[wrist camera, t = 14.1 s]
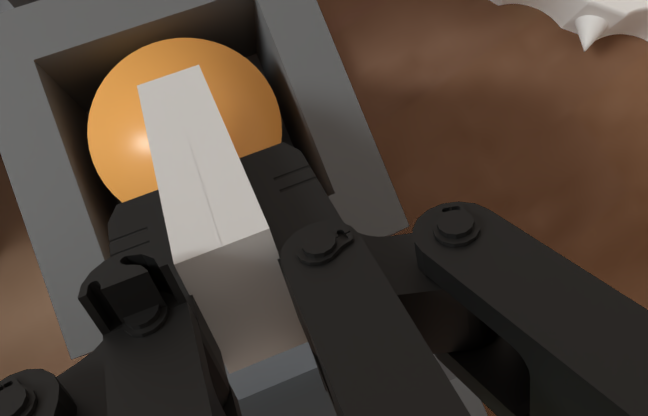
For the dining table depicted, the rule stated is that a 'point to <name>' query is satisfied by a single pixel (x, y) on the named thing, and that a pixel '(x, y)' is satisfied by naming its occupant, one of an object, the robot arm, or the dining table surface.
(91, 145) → the orange button
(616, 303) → the robot arm
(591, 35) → the white brass knuckles
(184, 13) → the button stand
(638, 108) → the dining table surface
